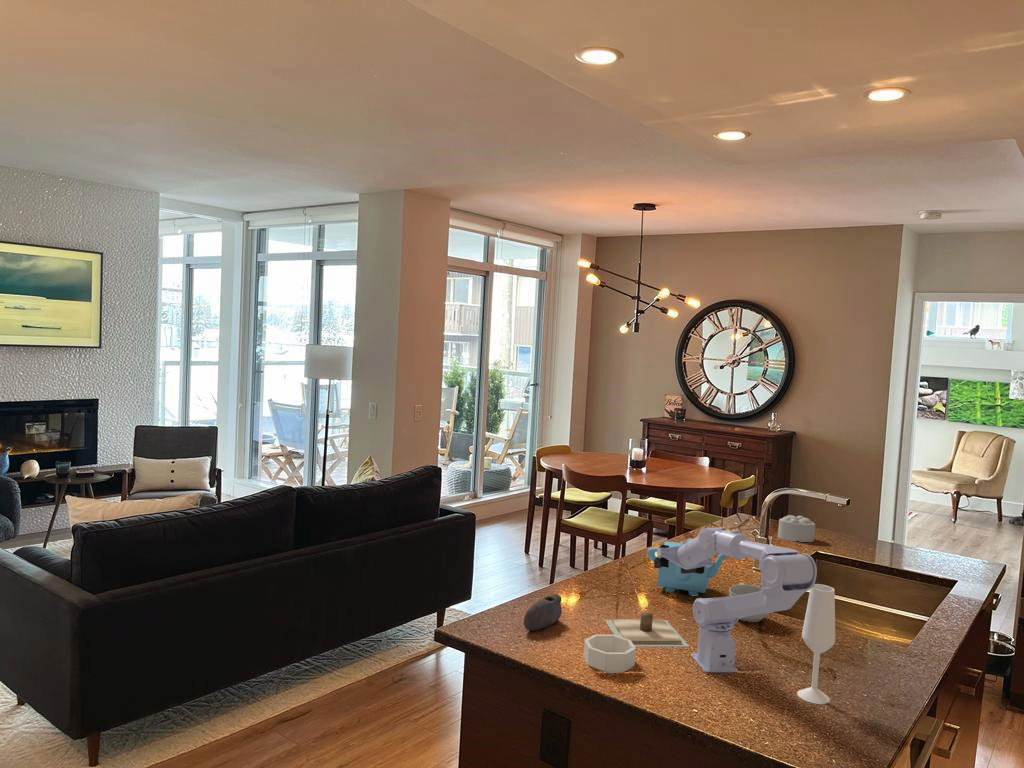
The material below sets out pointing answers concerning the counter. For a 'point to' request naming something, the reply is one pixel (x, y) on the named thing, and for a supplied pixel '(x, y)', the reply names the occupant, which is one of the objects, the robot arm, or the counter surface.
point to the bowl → (609, 653)
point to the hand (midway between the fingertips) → (668, 566)
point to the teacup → (747, 589)
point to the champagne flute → (818, 635)
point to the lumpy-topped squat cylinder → (796, 529)
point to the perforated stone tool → (543, 613)
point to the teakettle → (686, 581)
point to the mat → (650, 644)
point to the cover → (646, 630)
